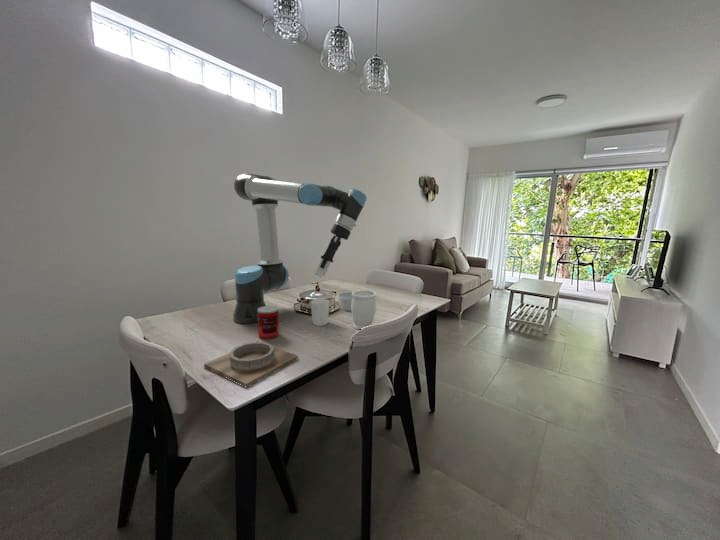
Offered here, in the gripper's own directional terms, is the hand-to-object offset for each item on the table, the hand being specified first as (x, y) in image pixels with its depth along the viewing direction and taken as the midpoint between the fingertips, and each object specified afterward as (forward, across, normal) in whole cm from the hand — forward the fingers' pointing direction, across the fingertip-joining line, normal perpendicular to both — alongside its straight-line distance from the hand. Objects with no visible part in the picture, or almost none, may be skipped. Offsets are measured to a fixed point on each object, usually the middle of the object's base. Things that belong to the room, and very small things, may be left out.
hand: (319, 275), depth 116 cm
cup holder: (+33, -23, +5) cm, 40 cm away
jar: (+13, +9, -26) cm, 30 cm away
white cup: (+20, +13, -8) cm, 26 cm away
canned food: (+30, -1, +8) cm, 31 cm away
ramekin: (+12, +35, -19) cm, 42 cm away
